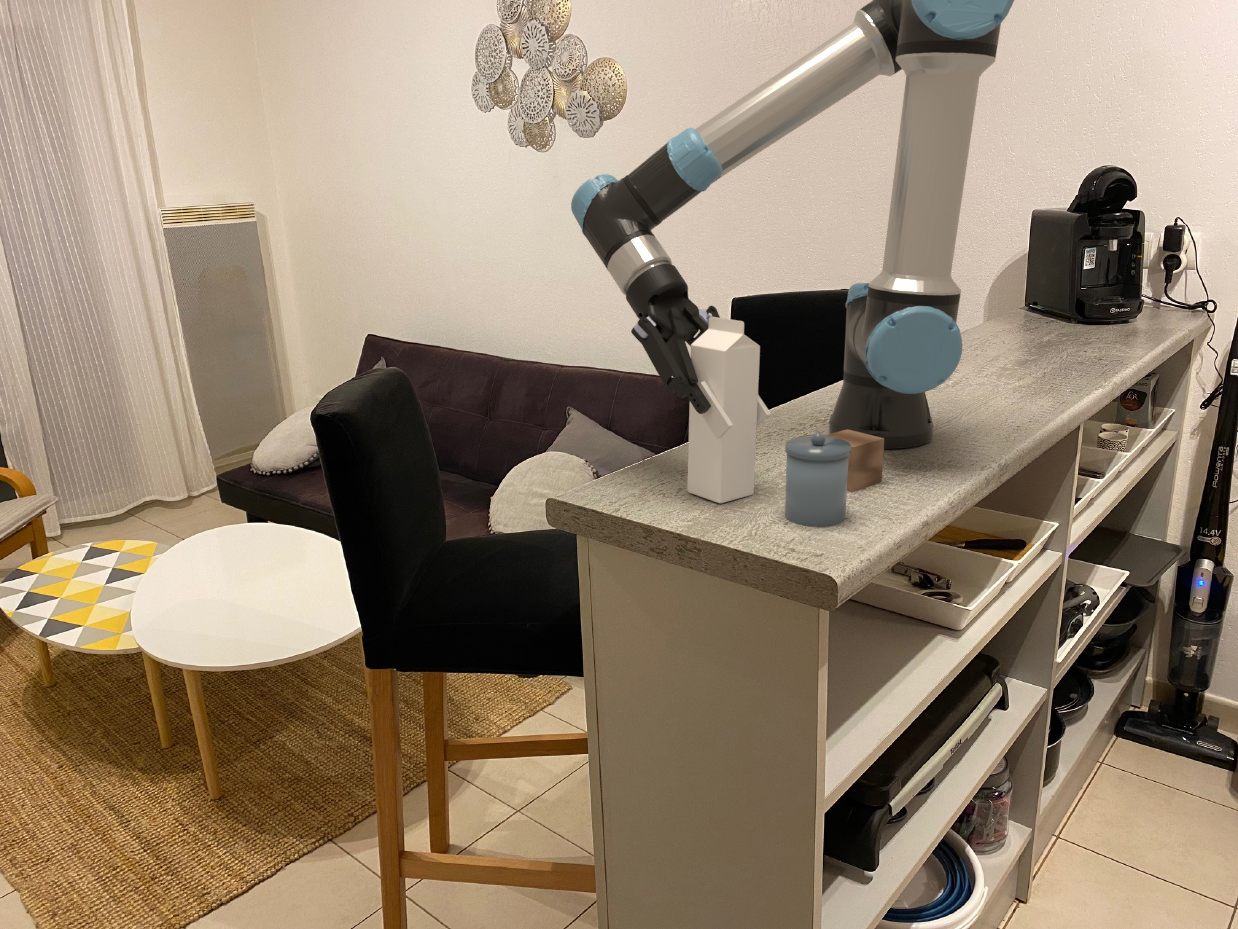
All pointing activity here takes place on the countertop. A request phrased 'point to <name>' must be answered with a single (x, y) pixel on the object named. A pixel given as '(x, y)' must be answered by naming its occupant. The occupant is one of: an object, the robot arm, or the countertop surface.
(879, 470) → the walnut block
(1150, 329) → the countertop surface
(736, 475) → the milk
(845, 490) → the slate jar
